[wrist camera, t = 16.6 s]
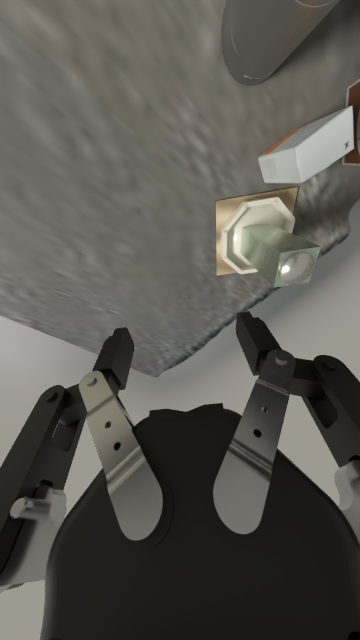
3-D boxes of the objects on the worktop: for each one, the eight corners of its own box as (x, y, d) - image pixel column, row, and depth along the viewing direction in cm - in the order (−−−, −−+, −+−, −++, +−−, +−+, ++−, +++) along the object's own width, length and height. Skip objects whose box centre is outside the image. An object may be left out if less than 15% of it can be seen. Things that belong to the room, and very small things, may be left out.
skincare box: (293, 129, 28) (355, 101, 18) (298, 159, 30) (356, 149, 20) (255, 157, 30) (295, 146, 20) (263, 184, 32) (301, 185, 22)
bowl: (220, 204, 33) (223, 206, 31) (293, 192, 32) (301, 192, 30) (220, 272, 42) (222, 276, 40) (278, 263, 41) (283, 267, 39)
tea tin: (241, 227, 35) (283, 254, 22) (267, 223, 35) (324, 247, 22) (240, 252, 38) (275, 289, 25) (263, 248, 38) (311, 284, 25)
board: (216, 200, 33) (216, 201, 33) (297, 186, 32) (298, 186, 32) (216, 274, 42) (217, 275, 42) (279, 265, 41) (280, 266, 41)
